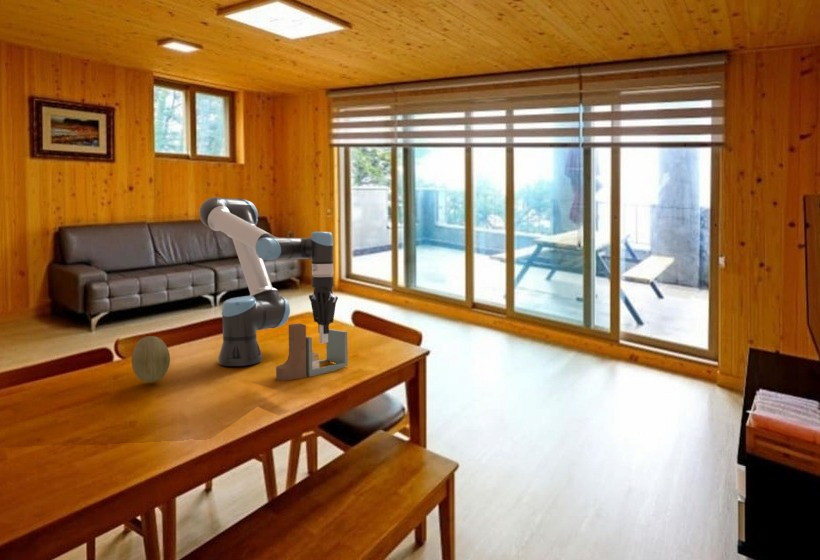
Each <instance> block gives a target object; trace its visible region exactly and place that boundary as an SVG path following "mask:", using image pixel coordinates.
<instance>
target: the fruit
mask: <svg viewBox="0 0 820 560" xmlns="http://www.w3.org/2000/svg"><path fill="white" fill-rule="evenodd" d="M170 362H171V355H170V350H169V348H168V346H167V345H166V343H165V342H164V340H162V338H160V337H158V336H152V335H149V336H145V337H142V338H140V339H139V340H138V341H137V342H136V344H135V346H134V348H133V350H132V353H131V367H132V370H133V373H134V374H135V376H136V377H137V379H139V380H140V381H141V382H144V383H155V382H157V381H159V380H161V379H162V378H164V377H165V375H166V374H167V372H168V369H169V368H170V367H169V366H170V364H171V363H170Z"/></svg>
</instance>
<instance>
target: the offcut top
mask: <svg viewBox="0 0 820 560" xmlns="http://www.w3.org/2000/svg"><path fill="white" fill-rule="evenodd" d="M317 360H319V353H316V352H312V361H317Z"/></svg>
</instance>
